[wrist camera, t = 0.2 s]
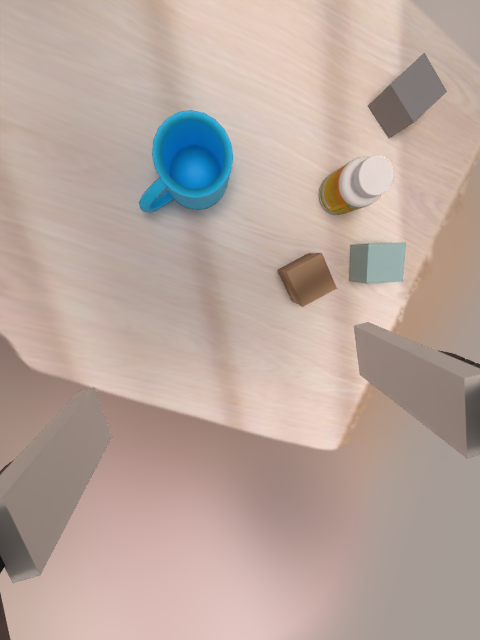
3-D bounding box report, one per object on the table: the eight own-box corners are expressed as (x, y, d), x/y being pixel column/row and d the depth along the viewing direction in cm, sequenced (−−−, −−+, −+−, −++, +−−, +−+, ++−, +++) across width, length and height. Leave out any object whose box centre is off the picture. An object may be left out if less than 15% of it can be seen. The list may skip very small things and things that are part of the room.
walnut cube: (277, 270, 42) (286, 271, 37) (308, 253, 42) (321, 253, 37) (291, 300, 43) (302, 306, 38) (322, 284, 43) (336, 288, 38)
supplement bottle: (324, 220, 41) (360, 210, 32) (313, 181, 40) (346, 158, 30) (360, 206, 41) (406, 191, 32) (349, 167, 40) (394, 139, 30)
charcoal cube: (367, 106, 39) (390, 84, 34) (396, 78, 38) (424, 52, 33) (388, 138, 40) (413, 122, 35) (417, 112, 39) (446, 91, 35)
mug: (201, 127, 37) (199, 92, 29) (240, 184, 39) (248, 165, 31) (126, 187, 38) (105, 168, 30) (168, 240, 39) (158, 236, 31)
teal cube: (350, 245, 42) (368, 243, 37) (383, 244, 43) (405, 242, 38) (348, 280, 43) (366, 283, 38) (381, 278, 44) (402, 281, 39)
